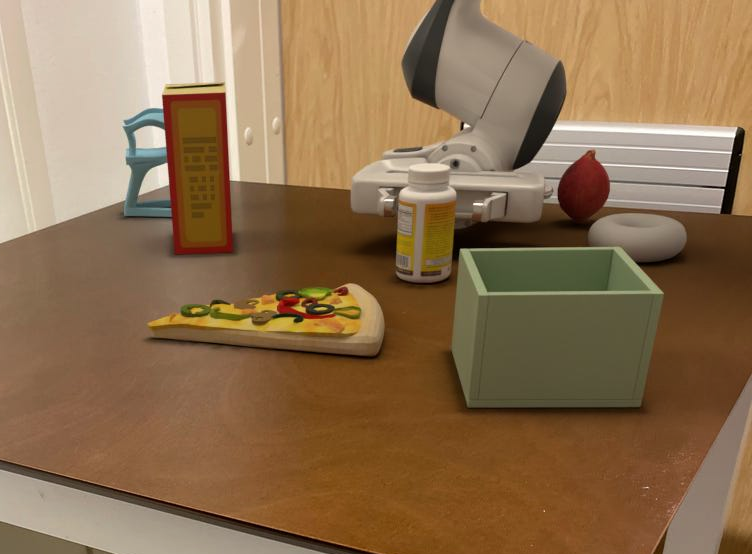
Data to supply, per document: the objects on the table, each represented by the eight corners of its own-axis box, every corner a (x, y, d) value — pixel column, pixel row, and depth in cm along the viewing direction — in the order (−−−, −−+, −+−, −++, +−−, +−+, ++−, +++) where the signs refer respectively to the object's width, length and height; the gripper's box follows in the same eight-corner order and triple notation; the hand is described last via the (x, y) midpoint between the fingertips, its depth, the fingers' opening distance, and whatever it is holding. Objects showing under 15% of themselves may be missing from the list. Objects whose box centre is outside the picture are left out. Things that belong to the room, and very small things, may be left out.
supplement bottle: (457, 272, 99) (466, 163, 93) (440, 287, 95) (448, 173, 89) (406, 267, 101) (411, 160, 96) (386, 281, 97) (391, 170, 92)
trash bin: (602, 349, 80) (620, 246, 75) (640, 407, 70) (664, 293, 65) (451, 350, 81) (459, 248, 76) (467, 407, 71) (478, 295, 66)
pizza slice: (395, 358, 79) (397, 321, 78) (143, 368, 79) (139, 331, 77) (370, 301, 92) (371, 268, 90) (153, 310, 92) (150, 277, 90)
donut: (611, 239, 109) (567, 255, 103) (617, 206, 107) (573, 221, 101) (698, 253, 104) (657, 271, 98) (706, 218, 102) (664, 235, 96)
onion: (554, 229, 113) (565, 153, 109) (551, 217, 118) (561, 144, 113) (606, 229, 112) (619, 153, 108) (601, 218, 117) (613, 144, 112)
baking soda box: (233, 252, 108) (225, 88, 99) (174, 254, 108) (161, 90, 99) (231, 231, 116) (224, 78, 107) (177, 234, 116) (165, 80, 106)
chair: (124, 207, 128) (114, 105, 121) (187, 204, 129) (180, 102, 122) (123, 220, 122) (112, 113, 115) (189, 217, 123) (182, 110, 116)
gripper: (551, 218, 106) (533, 250, 95) (370, 209, 112) (335, 238, 101) (559, 155, 102) (542, 180, 92) (372, 149, 108) (335, 172, 98)
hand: (431, 210), depth 96 cm, fingers open, 8 cm apart
